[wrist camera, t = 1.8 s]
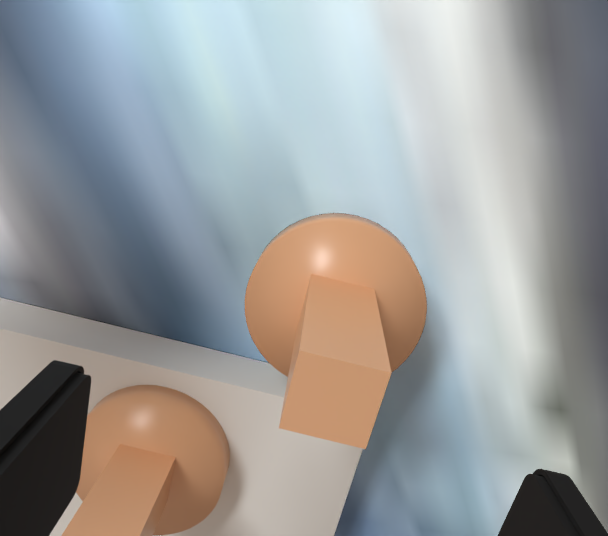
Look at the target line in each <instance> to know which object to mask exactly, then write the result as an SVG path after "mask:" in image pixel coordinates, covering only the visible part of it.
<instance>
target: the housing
mask: <svg viewBox="0 0 608 536" xmlns="http://www.w3.org/2000/svg"><path fill="white" fill-rule="evenodd" d="M54 360H57V361H62V362H66V363H70V364H75V365H79V366H82V367H83V368H84V374H86V375H90V376H91V388H90V397H89V405H88V414H87V423H86V431H85V440H84V448H83V457H82V466H81V474H80V481H79V485H78V488H77V490H76V493H75V495H74V497H73V499H72V500H71V502H70V503H69V505H68V507H67V508H66V510H65V511H64V513H63V514H62V516H61V518H60V519H59V521H58V522H57V524H56V526H55V527H54V529H53V530H52V532H51V533H50V535H49V536H153V535H163V536H334V534H335V531H336V528H337V525H338V522H339V519H340V516H341V513H342V510H343V507H344V504H345V501H346V498H347V495H348V492H349V489H350V486H351V483H352V480H353V477H354V474H355V471H356V468H357V465H358V462H359V459H360V456H361V453H362V450H363V448H358V447H354V446H350V445H346V444H342V443H338V442H334V441H330V440H325V439H321V438H317V437H313V436H309V435H305V434H301V433H296V432H292V431H288V430H284V429H280V428H279V424H280V418H281V413H282V407H283V402H284V396H285V391H286V385H287V380H288V377H287V376H285V375H284V374H282V373H281V372H279V371H278V370H277V369H276V368H274V367H273V366H272V365H271V364H270V363H266V362H262V361H258V360H254V359H250V358H246V357H242V356H238V355H234V354H229V353H225V352H221V351H217V350H213V349H209V348H205V347H201V346H197V345H193V344H188V343H184V342H180V341H176V340H172V339H168V338H164V337H160V336H156V335H151V334H147V333H143V332H139V331H135V330H131V329H127V328H123V327H119V326H114V325H110V324H106V323H102V322H98V321H94V320H90V319H86V318H82V317H78V316H73V315H69V314H65V313H61V312H57V311H53V310H49V309H45V308H41V307H36V306H32V305H28V304H24V303H20V302H16V301H12V300H8V299H4V298H0V410H1V409H2V408H3V407H4V406H5V405H6V404H7V403H8V402H9V401H10V400H11V399H12V398H13V397H14V396H16V395H17V394H18V393H19V392H20V391H21V390H22V389H23V388H24V387H25V386H26V385H27V384H28V383H29V382H30V381H31V380H32V379H33V378H35V377H36V376H37V375H38V374H39V373H40V372H41V371H42V370H43V369H44V368H45V367H46V366H47V365H48V364H49V363H50V362H52V361H54Z"/></svg>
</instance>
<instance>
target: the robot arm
mask: <svg viewBox="0 0 608 536" xmlns="http://www.w3.org/2000/svg"><path fill="white" fill-rule="evenodd" d="M90 388H91V376H90V375H86V374H84V368H83V367H82V366H79V365H75V364H70V363H66V362H62V361H57V360H54V361H52V362H50V363H49V364H48V365H47V366H46V367H45V368H44V369H43V370H42V371H41V372H40V373H39V374H38V375H37V376H36V377H35V378H33V379H32V380H31V381H30V382H29V383H28V384H27V385H26V386H25V387H24V388H23V389H22V390H21V391H20V392H19V393H18V394H17V395H16V396H14V397H13V398H12V399H11V400H10V401H9V402H8V403H7V404H6V405H5V406H4V407H3V408H2V409H1V410H0V536H49V535H50V533H51V532H52V530H53V529H54V527H55V526H56V524H57V522H58V521H59V519H60V518H61V516H62V514H63V513H64V511H65V510H66V508H67V507H68V505H69V503H70V502H71V500H72V499H73V497H74V495H75V493H76V490H77V488H78V485H79V481H80V474H81V466H82V457H83V448H84V440H85V431H86V423H87V414H88V405H89V397H90ZM498 536H608V533H607V532H606V530H605V529H604V527H603V526H602V524H601V523H600V521H599V520H598V518H597V517H596V515H595V514H594V512H593V511H592V509H591V508H590V506H589V505H588V503H587V502H586V500H585V499H584V497H583V496H582V494H581V493H580V491H579V490H578V488H577V487H576V486H575V484H574V483H573V481H572V480H571V478H570V477H569V476H567V475H565V474H561V473H556V472H552V471H547V470H543V469H537V470H536V471H535V472H534V473H533V474H528V475H527V476H526V477H525V479H524V480H523V483H522V485H521V487H520V489H519V491H518V493H517V495H516V498H515V500H514V502H513V504H512V506H511V508H510V510H509V513H508V515H507V517H506V519H505V521H504V523H503V525H502V527H501V530H500V532H499V534H498Z"/></svg>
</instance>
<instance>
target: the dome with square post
mask: <svg viewBox="0 0 608 536" xmlns="http://www.w3.org/2000/svg"><path fill="white" fill-rule="evenodd" d="M426 312H427V301H426V294H425V288H424V285H423V282H422V278H421V276H420V274H419V272H418V270H417V268H416V266H415V264H414V262H413V260H412V257H411V255H410V254H409V252H408V251H407V249H406V248H405V246H404V245H403V244H402V243H401V242H400V241H399V240H398V238H397V237H395V236H394V235H393V234H392V233H391V232H390V231H388V230H387V229H385V228H384V227H382V226H381V225H379V224H377V223H375V222H373V221H371V220H369V219H366V218H363V217H360V216H356V215H350V214H343V213H328V214H320V215H315V216H311V217H308V218H305V219H302V220H300V221H298V222H296V223H294V224H292V225H290V226H288V227H287V228H285V229H284V230H283V231H281V232H280V233H279V234H278V235H277V236H275V237H274V238H273V239H272V240H271V242H270V243H269V244H268V245H267V246H266V248H265V249H264V251H263V252H262V254H261V256H260V257H259V259H258V261H257V263H256V265H255V267H254V269H253V272H252V274H251V276H250V278H249V282H248V285H247V288H246V295H245V316H246V322H247V326H248V329H249V332H250V335H251V337H252V339H253V342H254V343H255V345H256V347H257V348H258V350H259V351H260V353H261V354H262V355H263V356H264V358H265V359H266V360H267V361H268V362H269V363H270V364H271V365H272V366H273V367H274V368H276V369H277V370H278V371H279V372H281V373H282V374H284V375H285V376H287V377H288V380H287V385H286V391H285V396H284V402H283V407H282V413H281V418H280V424H279V428H280V429H284V430H288V431H292V432H296V433H301V434H305V435H309V436H313V437H317V438H321V439H325V440H330V441H334V442H338V443H342V444H346V445H350V446H354V447H358V448H363V449H366V447H367V444H368V441H369V438H370V435H371V432H372V429H373V426H374V423H375V420H376V417H377V414H378V412H379V409H380V406H381V403H382V400H383V397H384V394H385V391H386V388H387V385H388V382H389V379H390V376H391V373H392V372H393V371H394V370H396V369H397V368H398V367H399V366H400V365H401V364H402V363H403V362H404V361H405V360H406V359H407V358H408V357H409V355H410V354H411V353H412V352H413V350H414V348H415V347H416V345H417V343H418V341H419V339H420V337H421V334H422V332H423V328H424V325H425V320H426Z"/></svg>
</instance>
